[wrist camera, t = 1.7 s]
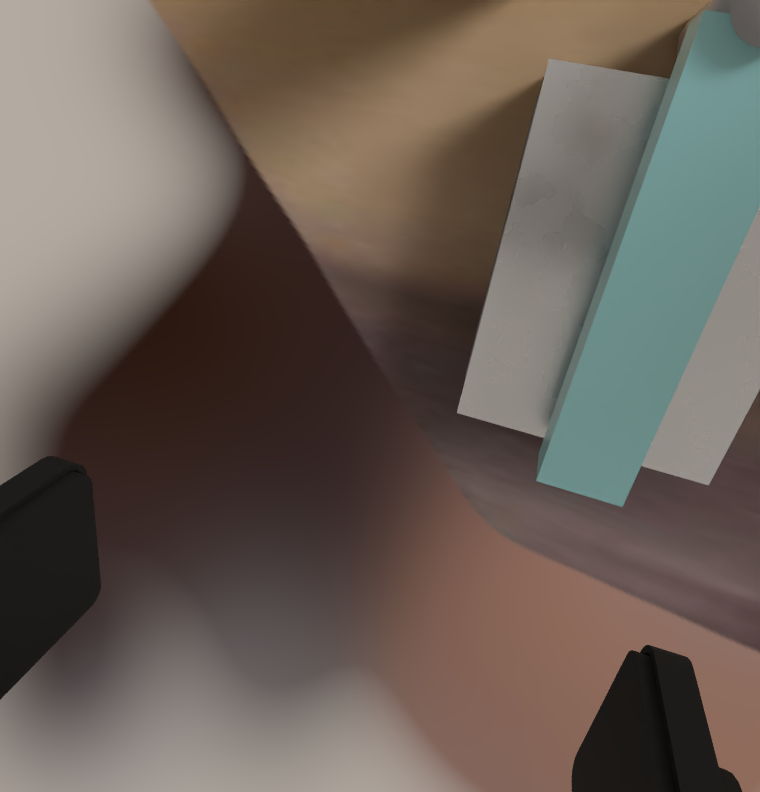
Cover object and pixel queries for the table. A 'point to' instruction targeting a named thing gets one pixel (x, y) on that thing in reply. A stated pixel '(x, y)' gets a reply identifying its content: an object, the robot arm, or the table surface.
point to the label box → (599, 275)
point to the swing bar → (664, 258)
